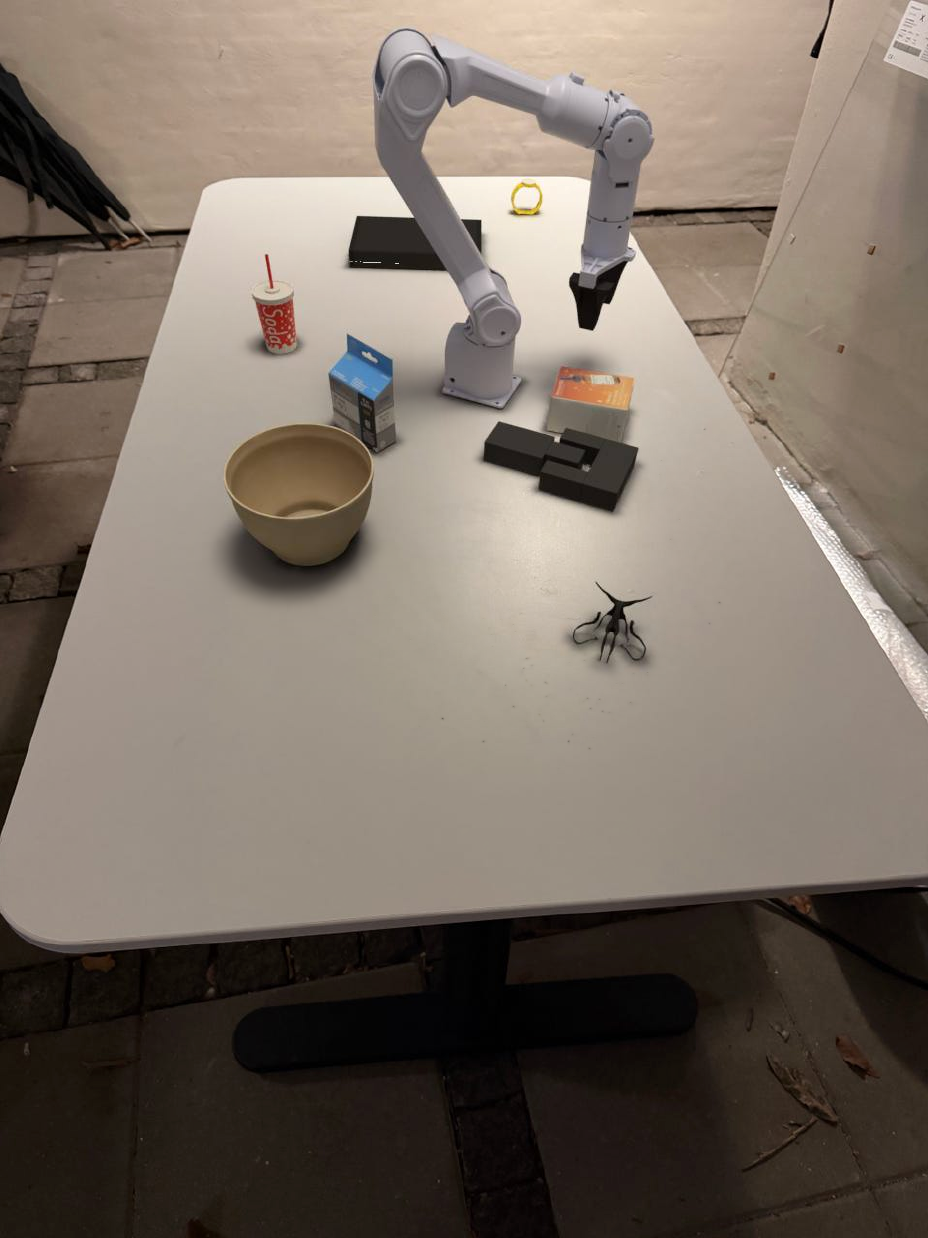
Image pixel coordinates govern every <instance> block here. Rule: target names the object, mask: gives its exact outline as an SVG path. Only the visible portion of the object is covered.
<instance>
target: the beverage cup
mask: <svg viewBox="0 0 928 1238" xmlns="http://www.w3.org/2000/svg"><path fill="white" fill-rule="evenodd" d="M264 258H265V259H264V260H265V263H266V270H267V275H268V279H266V280H263V281H259V282H257V283H256V284H254V285H253V286H252V287H251V289H250V292H251V296H252V300H254V302H255V307H256V310H257V314H258V318H259V322H260V326H261V331H262V334H263V337H264V342H265V346H266V349H267V351H268V352H270V353H272V354H276V355H285V354H286V355H287V354H288V353H292V352H294V350H296V349H297V347H298V342H297V332H296V331H297V330H296V319H295V309H294V297H295V292H294V291H295V290H294V285H293V284H292V283H290V282H289V281H286V280H284V279H273V275H272V268H271V263H270V258H269V254H268V253H266V254H264Z"/></svg>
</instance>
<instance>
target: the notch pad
mask: <svg viewBox="0 0 928 1238" xmlns="http://www.w3.org/2000/svg"><path fill="white" fill-rule="evenodd" d="M558 443H561V444H565V445H569V446H572V447H576V448H579V449H583V450H585V455H584V461H583V465H587V466H590V468H589V470H588V471H587V470H583V469H581V470H580V469H576V468H573V467H569V466H566V465H562V464H559V463H555V462H552V461H548V460H547V461H546V463H545V465H544V466H543V468H542V470H541V472H540V476H539V481H538V490H539V491H541V492H542V491H543V492H544V493H545V492H546V493H548V494H553V495H555V496H558V497H563V498H566V499H569V500H572V501H576V502H579V503H583V504H586V505H589V506H593V507H596V508H599V509H603V510H606V511H610V512H614V511H615V509H616V507H617V505H618V503H619V500H620V499H621V496H622V494H623V491H624V489H625V487H626V485H627V483H628V482H629V481H628V480H629V478H630V476H631V474H632V472H633V471H634V470H633V469H634V468H635V465H636V461H637V456H638V452H639V447H637V446H634V445H630V444H628V443H627V444H626V443H623V442H621V443H620V442H616V441H613V440H609V439H605V438H602V437H598V436H594V435H591V434H587V433H583V432H580V431H576V430H572V429H569V428H565V430H564V432H563V433H561V435H560V437H559V441H558Z"/></svg>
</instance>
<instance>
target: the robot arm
mask: <svg viewBox="0 0 928 1238" xmlns="http://www.w3.org/2000/svg"><path fill="white" fill-rule="evenodd" d="M428 35H429V37H430V39H431V41H432V43H433V45H432V44H431V42H430V40H429V39H428V37H427V36H426V35H425V34H424V32H422V31H420V30H419V29H417V28H414V27H411V26H402V27H398V28H396V29H394V30H392V31H391V32H389V33H388V34H387V35H386V36H385V38H384V39H383V40H382V42H381V45H380V47H379V49H378V54H377V56H376V59H375V60H376V61H375V64H374V67H373V71H372V88H373V119H374V121H373V122H374V146H375V152H376V155H377V158H378V160H379V163H380V165H381V167H382V168H383V170H384V171H385V174H386V175H387V177H388V178H389V180H390V181H391V183H392V184H393V186H394V188H395V189H396V191H397V193H398V194H399V195H400V198H402V201H403V202H404V203H405V205H406V207H407V208H408V210H409V212H410V213H411V215H412V216H413V218H415V220H416V221H417V223H418V224H419V226H420V228H421V229H422V231H423V232H424V234H425V236H426V237H427V239H428V240H429V242H430V244H431V245H432V247H433V248H434V250H435V252H436V253H437V255H438V256H439V258H440V260H441V261H442V263H443V264H444V266H445V268H446V269H447V270H446V271H447V273H448V274H449V276H450V277H451V279H452V280H453V282H454V284H455V285H456V287H457V289H458V291H459V293H460V295H461V297H462V299H463V302H464V305H465V306H466V308H467V311H468V316H467V318H466V320H465V322H455V323H454V324H452V326H451V327H450V329H449V332H448V334H447V337H446V341H445V347H444V386H443V388H442V393H443V394H447V395H449V396H453V397H457V398H461V399H465V400H469V401H471V402H475V403H479V404H482V405H486V406H490V407H493V408H498V409H503V408H504V407H505V405H506V404H507V403H508V401H509V400H510V398H511V397H512V396H513V394H514V393H515V391H516V390H517V389H518V387H519V385H520V384H521V382H522V378H521V377H519V376H516V375H513V374H514V364H515V349H516V337H517V335H518V333H519V332H520V329H521V327H522V326H521V325H522V315H521V312H520V310H519V309H518V307H517V305H516V304H515V302H514V300H513V297H512V294H511V293H510V290H509V287H508V283H507V280H506V279H505V277H504V276H503V275H502V274H501V273H500V272H499V271H497V270H495V269H493V268H492V267H491V265H489V263H488V262H487V260H486V258H485V257H484V256H483V255H481V254H480V252H479V250H478V248H477V247H476V245H475V243H474V241H473V240H472V238H471V236H470V234H469V233H468V231H467V229H466V227H465V226H464V224H463V222H462V220H461V219H462V218H461V217H460V215H459V214H458V211H457V210H456V208H455V207H454V205H453V203H452V201H451V200H450V197H449V196H448V195H447V193H446V191H445V189H444V188H443V186H442V184H441V182H440V181H439V179H438V177H437V175H436V174H435V172H434V171H433V169H432V166H431V165H430V163H429V161H428V159H427V158H426V157H425V155H424V153H423V151H422V150H423V147H424V143H425V141H426V136H427V132H428V131H429V128H430V127H431V126H432V124H433V123H434V121H435V120H436V118H437V116H438V115H439V113H440V111H441V110H442V109H443V106H444V104H445V102H446V101H447V104H448V105H449V107H450V108H451V109H453V108H455V107H457V106H458V105H460V104H462V103H463V102H465V101H466V100H467V99H469V98H471V97H473V96H474V97H477V98H480V99H483V100H486V101H489V102H492V103H496V104H499V105H502V106H505V107H508V108H511V109H514V110H517V111H521V112H524V113H526V114H530V115H533V116H534V117H535V118H536V122H537V125H538V128H539V130H540V131H541V132H542V133H544V134H546V135H550V136H552V137H554V138H557V139H560V140H563V141H565V142H568V143H571V144H574V145H576V146H579V147H581V148H583V149H586V150H590V151H594V155H593V164H592V170H591V174H590V175H591V176H590V186H589V193H588V194H589V195H588V201H587V208H586V209H587V210H586V217H585V224H584V233H583V240H582V241H583V242H582V244H581V246H580V263H581V269H580V270H579V273H578V272H574V271H573V272H572V273H571V275H570V276H569V278H568V286H569V289H570V290H571V293H572V295H573V298H574V302H575V307H576V316H577V324H578V328H579V329H582V330H586V331H590V332H592V331H595V328H596V326H597V324H598V322H599V318H600V315H601V311H602V308H603V306H604V304H605V305H611V303H612V301H613V298H614V296H615V294H616V291H617V288H618V285H619V282H620V280H621V277H622V274H623V272H624V271H625V268H626V266H627V264H628V263H629V262H630V263H631V262H633V260H635V258H636V253H637V251H636V250H635V249H634V248H632V247H630V246H629V240H630V234H631V227H632V221H633V215H634V211H635V205H636V204H635V203H636V198H637V192H638V187H639V186H638V185H639V180H640V172H641V165H642V163H643V161H644V160H645V159H646V158H647V157H648V155H649V153H651V150H652V148H653V146H654V143H655V137H654V136H653V126H652V125H653V124H652V121H651V120H650V118H649V116H648V115H647V114H646V113H645V112H644V111H643V109H641V108H640V106H638V104H637V103H636V102H635V101H634V100H633V99H632V98H630V97H629V96H627V95H626V94H625V93H624V92H623V91H618V90H616V89H613V88H610V89H609V91H608V92H607V91H605V90H602V89H599V88H598V87H595V86H593V85H590V84H587V83H585V77H584V76H583V75H582V74H581V73H579V72H576V71H574V70H571V71H570V74H569V76H568V75H566V74H563V73H558V74H555V75H554V76H552V77H550V78H548V79H546V80H544V81H543V80H542V79H539V78H537V77H534V76H532V75H530V74H528V73H526V72H524V71H521V70H520V69H517V68H515V67H513V66H511V65H509V64H506V63H504V62H502V61H500V60H497V59H495V58H493V57H491V56H489V55H486V54H484V53H482V52H481V51H479V50H476V49H473V48H471V47H469V46H467V45H464V44H462V43H459V42H457V41H454V40H452V39H449V38H447V37H444V36H442V35H437V34H434V33H428Z"/></svg>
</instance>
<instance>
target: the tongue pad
mask: <svg viewBox="0 0 928 1238" xmlns="http://www.w3.org/2000/svg"><path fill="white" fill-rule="evenodd" d="M555 439H556V437H555V436H554V435H551V434H547V433H542V432H539V431H536V430H532V429H530V428H526V427H521V426H518V425H514V424H511V423H507V422H503V421H500V420H499V421H497V422H496V424H495V426H494V427H493V428H492V430H491V431H490V432H489V435H488V436H487V437H486V439H485V440H484V441H483V442H484V444H483V461H486V462H489V463H493V464H495V465H499V466H502V467H506V468H509V469H513V470H516V471H519V472H522V473H523V472H524V473H527V474H530V475H534V476H537V477H540V472H541V470H542V468H543V466H544V465H545V463H546V461H547V460H548V461H552V462H555V463H559V464H562V465H566V466H569V467H573V468H576V469H580V470H583V465H584V464H583V461H584V455H585V450H583V449H579V448H576V447H572V446H569V445H565V444H561V443H559V441H555Z"/></svg>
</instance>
